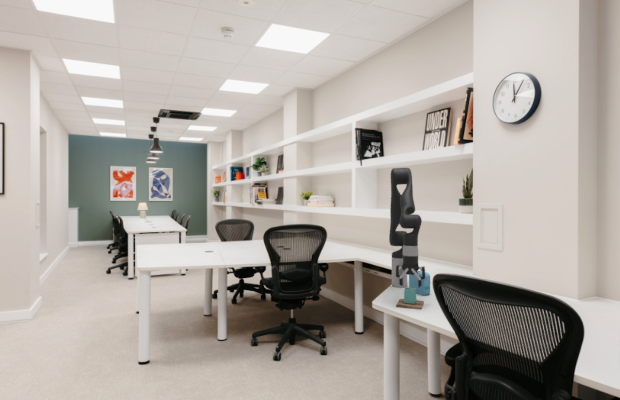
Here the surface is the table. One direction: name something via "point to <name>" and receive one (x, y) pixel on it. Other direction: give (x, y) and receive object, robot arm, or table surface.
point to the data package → (424, 287)
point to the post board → (407, 305)
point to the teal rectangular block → (410, 295)
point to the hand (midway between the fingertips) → (410, 286)
